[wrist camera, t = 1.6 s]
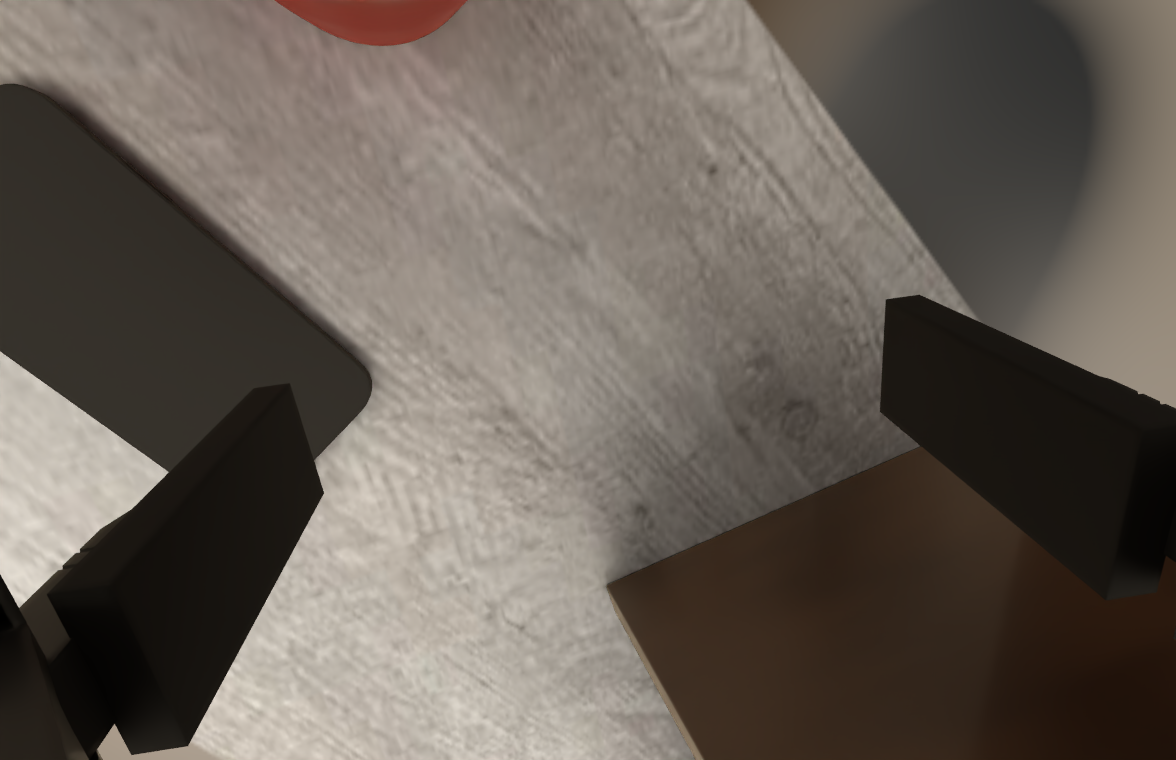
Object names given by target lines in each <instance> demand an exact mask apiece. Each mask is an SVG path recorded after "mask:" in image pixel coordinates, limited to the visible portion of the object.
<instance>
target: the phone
mask: <svg viewBox="0 0 1176 760" xmlns="http://www.w3.org/2000/svg"><path fill="white" fill-rule="evenodd" d="M0 351H1V352H2V353H3V354H5V355H6V356H8V357H9V358H10V359H12V360H13V361H15V362H16V363H17V364H19V365H20V366H22V367H23V368H24V369H26V370H27V371H29V372H30V373H31V374H33V375H34V376H35V377H37V378H38V379H40V380H41V381H42V382H44V383H45V384H47V385H48V386H49V387H51V388H52V389H54V390H55V391H56V392H58V393H59V394H61V395H62V396H63V397H65V398H66V399H68V400H69V401H70V402H72V403H73V404H75V405H76V406H77V407H79V408H80V409H82V410H83V411H84V412H86V413H87V414H89V415H90V416H91V417H93V418H94V419H96V420H97V421H98V422H100V423H101V424H103V425H104V426H105V427H107V428H108V429H110V430H111V431H112V432H114V433H115V434H117V435H118V436H119V437H121V438H122V439H124V440H125V441H126V442H128V443H129V444H131V445H132V446H133V447H135V448H136V449H138V450H139V451H140V452H142V453H143V454H145V455H146V456H147V457H149V458H150V459H152V460H153V461H154V462H156V463H157V464H159V465H160V466H161V467H163V468H164V469H166V470H167V471H168V472H170V471H171V470H172V469H173V468H174V467H175V466H176V465H177V464H178V463H179V462H180V461H181V460H182V459H183V458H184V457H185V456H186V455H187V454H188V453H189V452H190V451H191V450H192V449H193V448H194V447H195V446H196V445H197V444H198V443H199V442H200V441H201V440H202V439H203V438H204V437H205V436H206V435H207V434H208V433H209V432H210V431H211V430H212V429H213V428H214V427H215V426H216V425H217V424H218V423H219V422H220V421H221V420H222V419H223V418H224V417H225V416H226V415H227V414H228V413H229V412H230V411H231V410H232V409H233V408H234V407H235V406H236V405H237V404H238V403H239V402H240V401H241V400H242V399H243V398H244V397H245V396H246V395H247V394H248V393H249V392H250V391H251V390H252V389H253V388H258V387H265V386H272V385H279V384H286V383H290V385H291V388H292V392H293V395H294V398H295V401H296V405H297V408H298V411H299V414H300V417H301V421H302V424H303V427H304V430H305V433H306V437H307V440H308V443H309V446H310V450H311V453H312V456H313V459H314V460H315V459H316V458H317V457H318V456H319V455H320V454H321V453H322V452H323V451H324V449H325V448H326V447H327V446H328V445H329V444H330V443H331V442H332V441H333V440H334V439H335V438H336V437H337V436H338V435H339V434H340V433H341V432H342V431H343V430H344V429H345V428H346V427H347V426H348V425H349V423H350V422H351V421H352V420H353V419H354V418H355V417H356V416H357V415H358V414H359V413H360V412H361V411H362V410H363V408H364V407H365V405H366V404H367V402H368V400H369V398H370V395H371V391H372V381H371V377H370V375H369V373H368V371H367V370H366V368H365V367H364V366H363V365H362V364H361V363H360V362H359V361H358V360H357V359H356V358H355V357H354V356H352V355H351V354H350V353H349V352H348V351H347V350H346V349H344V348H343V347H342V346H341V345H340V344H339V343H337V342H336V341H335V340H334V339H333V338H332V337H330V336H329V335H328V334H327V333H326V332H325V331H323V330H322V329H321V328H320V327H319V326H318V325H316V324H315V323H314V322H313V321H312V320H311V319H309V318H308V317H307V316H306V315H305V314H304V313H302V312H301V311H300V310H299V309H298V308H297V307H295V306H294V305H293V304H292V303H291V302H290V301H288V300H287V299H286V298H285V297H284V296H283V295H281V294H280V293H279V292H278V291H277V290H276V289H274V288H273V287H272V286H271V285H270V284H269V283H267V282H266V281H265V280H264V279H263V278H261V277H260V276H259V275H258V274H257V273H256V272H254V271H253V270H252V269H251V268H250V267H249V266H247V265H246V264H245V263H244V262H243V261H242V260H240V259H239V258H238V257H237V256H236V255H235V254H233V253H232V252H231V251H230V250H229V249H228V248H226V247H225V246H224V245H223V244H222V243H221V242H219V241H218V240H217V239H216V238H215V237H214V236H212V235H211V234H210V233H209V232H208V231H207V230H205V229H204V228H203V227H202V226H201V225H200V224H198V223H197V222H196V221H195V220H194V219H193V218H191V217H190V216H189V215H188V214H187V213H186V212H184V211H183V210H182V209H181V208H180V207H179V206H177V205H176V204H175V203H174V202H173V201H172V200H171V199H170V198H169V197H168V196H166V195H165V194H164V193H163V192H162V191H161V190H159V189H158V188H157V187H156V186H155V185H154V184H152V183H151V182H150V181H149V180H148V179H147V178H145V177H144V176H143V175H142V174H141V173H140V172H138V171H137V170H136V169H135V168H134V167H133V166H131V165H130V164H129V163H128V162H126V161H125V160H124V159H123V158H121V157H120V156H119V155H118V154H117V153H116V152H114V151H113V150H112V149H111V148H110V147H109V146H107V145H106V144H105V143H104V142H103V141H102V140H100V139H99V138H98V137H97V136H96V135H95V134H93V133H92V132H91V131H90V130H89V129H88V128H86V127H85V126H84V125H83V124H82V123H80V122H79V121H78V120H77V119H76V118H75V117H73V116H72V115H71V114H70V113H69V112H68V111H66V110H65V109H64V108H63V107H62V106H60V105H59V104H58V103H57V102H55V101H54V100H52V99H51V98H49V97H48V96H46V95H44V94H42V93H40V92H38V91H35V90H33V89H31V88H28V87H25V86H22V85H18V84H3V85H0Z"/></svg>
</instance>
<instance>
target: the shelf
mask: <svg viewBox="0 0 1176 760" xmlns="http://www.w3.org/2000/svg"><path fill="white" fill-rule="evenodd" d="M607 590H608V593H609V596H610V598H611V601H612V604H613V607H614V610H615V612H616V614H617V616H618V618H619V620H620V621H621V623H622V625H623V627H624V629H625V631H626V632H627V634H628V636H629V638H630V640H631V642H632V643H633V645H634V647H635V649H636V651H637V653H638V655H639V656H640V658H641V660H642V662H643V664H644V666H645V667H646V669H647V671H648V673H649V675H650V677H651V678H652V680H653V682H654V684H655V686H656V688H657V689H658V691H659V693H660V695H661V697H662V699H663V700H664V702H665V704H666V706H667V708H668V710H669V711H670V713H671V715H672V717H673V719H674V721H675V723H676V724H677V726H678V728H679V730H680V732H681V734H682V735H683V737H684V739H685V741H686V743H687V745H688V746H689V748H690V750H691V752H692V754H693V756H694V757H695V759H696V760H1176V639H1173V635H1174V632H1175V628H1176V562H1174V561H1173V560H1171V559H1170V558H1168V557H1167V556H1166V558H1165V562H1164V566H1163V569H1162V573H1161V577H1160V581H1159V585H1158V589H1157V592H1156V593H1150V594H1144V595H1138V596H1131V597H1125V598H1119V599H1112V600H1105V599H1103V598H1102V597H1101V596H1100V595H1099V594H1097V593H1096V592H1095V591H1094V590H1093V589H1091V588H1090V587H1089V586H1088V585H1087V584H1085V583H1084V582H1083V581H1082V580H1081V579H1079V578H1078V577H1077V576H1076V575H1075V574H1074V573H1072V572H1071V571H1070V570H1069V569H1068V568H1066V567H1065V566H1064V565H1063V564H1062V563H1060V562H1059V561H1058V560H1057V559H1056V558H1054V557H1053V556H1052V555H1051V554H1050V553H1048V552H1047V551H1046V550H1045V549H1044V548H1042V547H1041V546H1040V545H1039V544H1038V543H1036V542H1035V541H1034V540H1033V539H1032V538H1030V537H1029V536H1028V535H1027V534H1026V533H1024V532H1023V531H1022V530H1021V529H1020V528H1018V527H1017V526H1016V525H1015V524H1014V523H1012V522H1011V521H1010V520H1009V519H1008V518H1006V517H1005V516H1004V515H1003V514H1002V513H1000V512H999V511H998V510H997V509H996V508H995V507H993V506H992V505H991V504H990V503H989V502H987V501H986V500H985V499H984V498H983V497H981V496H980V495H979V494H978V493H977V492H975V491H974V490H973V489H972V488H971V487H969V486H968V485H967V484H966V483H965V482H963V481H962V480H961V479H960V478H959V477H957V476H956V475H955V474H954V473H953V472H951V471H950V470H949V469H948V468H947V467H945V466H944V465H943V464H942V463H941V462H939V461H938V460H937V459H936V458H935V457H933V456H932V455H931V454H930V453H929V452H927V451H926V450H925V449H924V448H923V447H919V448H917V449H914V450H912V451H910V452H908V453H905V454H903V455H901V456H898V457H896V458H894V459H892V460H889V461H887V462H885V463H883V464H880V465H878V466H876V467H873V468H871V469H869V470H867V471H864V472H862V473H860V474H858V475H855V476H853V477H851V478H849V479H846V480H844V481H842V482H839V483H837V484H835V485H833V486H830V487H828V488H826V489H824V490H821V491H819V492H817V493H814V494H812V495H810V496H808V497H805V498H803V499H801V500H799V501H796V502H794V503H792V504H790V505H787V506H785V507H783V508H780V509H778V510H776V511H774V512H771V513H769V514H767V515H765V516H762V517H760V518H758V519H755V520H753V521H751V522H749V523H746V524H744V525H742V526H740V527H737V528H735V529H733V530H731V531H728V532H726V533H724V534H721V535H719V536H717V537H715V538H712V539H710V540H708V541H706V542H703V543H701V544H699V545H696V546H694V547H692V548H690V549H687V550H685V551H683V552H681V553H678V554H676V555H674V556H672V557H669V558H667V559H665V560H662V561H660V562H658V563H656V564H653V565H651V566H649V567H647V568H644V569H642V570H640V571H637V572H635V573H633V574H631V575H628V576H626V577H624V578H622V579H619V580H617V581H615V582H612V583H610V584H608V585H607Z"/></svg>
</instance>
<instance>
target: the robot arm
mask: <svg viewBox="0 0 1176 760" xmlns="http://www.w3.org/2000/svg"><path fill="white" fill-rule="evenodd" d="M880 412H881V413H882V414H883V415H884V416H886V417H887V418H888V419H889V420H890V421H892V422H893V423H894V424H895V425H896V426H898V427H899V428H900V429H901V430H902V431H904V432H905V433H906V434H907V435H908V436H910V437H911V438H912V439H913V440H914V441H916V442H917V443H918V444H919V445H920V446H921V447H923V448H924V449H925V450H926V451H927V452H929V453H930V454H931V455H932V456H933V457H935V458H936V459H937V460H938V461H939V462H941V463H942V464H943V465H944V466H945V467H947V468H948V469H949V470H950V471H951V472H953V473H954V474H955V475H956V476H957V477H959V478H960V479H961V480H962V481H963V482H965V483H966V484H967V485H968V486H969V487H971V488H972V489H973V490H974V491H975V492H977V493H978V494H979V495H980V496H981V497H983V498H984V499H985V500H986V501H987V502H989V503H990V504H991V505H992V506H993V507H995V508H996V509H997V510H998V511H999V512H1000V513H1002V514H1003V515H1004V516H1005V517H1006V518H1008V519H1009V520H1010V521H1011V522H1012V523H1014V524H1015V525H1016V526H1017V527H1018V528H1020V529H1021V530H1022V531H1023V532H1024V533H1026V534H1027V535H1028V536H1029V537H1030V538H1032V539H1033V540H1034V541H1035V542H1036V543H1038V544H1039V545H1040V546H1041V547H1042V548H1044V549H1045V550H1046V551H1047V552H1048V553H1050V554H1051V555H1052V556H1053V557H1054V558H1056V559H1057V560H1058V561H1059V562H1060V563H1062V564H1063V565H1064V566H1065V567H1066V568H1068V569H1069V570H1070V571H1071V572H1072V573H1074V574H1075V575H1076V576H1077V577H1078V578H1079V579H1081V580H1082V581H1083V582H1084V583H1085V584H1087V585H1088V586H1089V587H1090V588H1091V589H1093V590H1094V591H1095V592H1096V593H1097V594H1099V595H1100V596H1101V597H1102V598H1103V599H1105V600H1112V599H1119V598H1125V597H1131V596H1138V595H1144V594H1150V593H1156V592H1157V589H1158V585H1159V581H1160V577H1161V573H1162V569H1163V566H1164V562H1165V558H1166V556H1167V557H1168V558H1170V559H1171V560H1173V561H1174V562H1176V408H1173V407H1171V406H1169V405H1167V404H1162V405H1161V404H1160V401H1158V400H1156V399H1153V398H1151V397H1149V396H1147V395H1145V394H1138V392H1137V391H1135V390H1133V389H1131V388H1129V387H1127V386H1125V385H1122V384H1120V383H1118V382H1116V381H1113V380H1111V379H1108V378H1104V377H1100V376H1097V375H1095V374H1093V373H1091V372H1089V371H1086V370H1084V369H1082V368H1080V367H1078V366H1075V365H1073V364H1071V363H1069V362H1066V361H1064V360H1062V359H1060V358H1058V357H1055V356H1053V355H1051V354H1049V353H1047V352H1044V351H1042V350H1040V349H1038V348H1036V347H1033V346H1031V345H1029V344H1027V343H1024V342H1022V341H1020V340H1018V339H1016V338H1014V337H1011V336H1009V335H1007V334H1005V333H1003V332H1000V331H998V330H996V329H994V328H991V327H989V326H987V325H985V324H983V323H981V322H978V321H976V320H974V319H972V318H970V317H967V316H965V315H963V314H961V313H958V312H956V311H954V310H952V309H950V308H947V307H945V306H943V305H941V304H939V303H936V302H934V301H932V300H930V299H928V298H925V297H923V296H921V295H914V296H907V297H900V298H893V299H886V306H885V325H884V344H883V363H882V382H881V402H880ZM323 494H324V491H323V488H322V485H321V482H320V479H319V475H318V472H317V469H316V466H315V462H314V459H313V456H312V453H311V450H310V446H309V443H308V440H307V437H306V433H305V430H304V427H303V424H302V421H301V417H300V414H299V411H298V408H297V405H296V401H295V398H294V395H293V392H292V388H291V385H290V383H286V384H279V385H272V386H265V387H258V388H253V389H252V390H251V391H250V392H249V393H248V394H247V395H246V396H245V397H244V398H243V399H242V400H241V401H240V402H239V403H238V404H237V405H236V406H235V407H234V408H233V409H232V410H231V411H230V412H229V413H228V414H227V415H226V416H225V417H224V418H223V419H222V420H221V421H220V422H219V423H218V424H217V425H216V426H215V427H214V428H213V429H212V430H211V431H210V432H209V433H208V434H207V435H206V436H205V437H204V438H203V439H202V440H201V441H200V442H199V443H198V444H197V445H196V446H195V447H194V448H193V449H192V450H191V451H190V452H189V453H188V454H187V455H186V456H185V457H184V458H183V459H182V460H181V461H180V462H179V463H178V464H177V465H176V466H175V467H174V468H173V469H172V470H171V471H170V472H169V473H168V474H167V475H166V476H165V477H164V478H163V479H162V480H161V481H160V482H159V483H158V484H157V485H156V486H155V487H154V488H153V489H152V490H151V491H150V492H149V493H148V494H147V495H146V496H145V497H144V498H143V499H142V500H141V501H140V502H139V503H138V504H137V505H136V506H135V507H134V508H133V509H132V510H130V511H128V512H127V513H125V514H124V515H122V516H121V517H119V518H117V519H116V520H114V521H113V522H111V523H110V524H108V525H106V526H105V527H103V528H102V529H100V530H99V531H98V532H97V533H96V534H95V535H94V536H93V537H92V538H91V539H90V540H89V541H88V542H87V543H86V544H85V545H84V546H83V547H82V548H81V549H80V553H76V554H74V555H73V556H72V557H71V558H70V559H69V560H68V561H67V562H66V563H65V564H64V565H63V570H58V571H57V572H56V573H55V574H54V575H53V576H52V577H51V578H50V579H49V580H48V581H47V582H46V583H45V584H43V585H42V586H41V587H40V588H39V589H38V590H37V591H36V592H35V593H34V594H33V595H32V596H31V597H30V598H29V599H28V600H27V601H26V602H25V603H24V604H23V605H22V606H21V607H20V608H19V607H18V606H17V604H16V602H15V600H14V598H13V597H12V595H11V593H10V591H9V589H8V588H7V586H6V584H5V582H4V580H3V579H2V577H1V575H0V760H103V759H102V758H101V756H100V754H99V752H98V750H97V748H98V747H99V746H100V744H101V743H102V741H103V740H104V738H105V737H106V735H107V734H108V732H109V731H110V729H111V728H112V726H113V725H114V724H115V725H116V727H117V729H118V731H119V732H120V734H121V736H122V738H123V740H124V742H125V744H126V745H127V747H128V749H129V751H130V753H131V755H134V754H140V753H147V752H153V751H160V750H165V749H171V748H179V747H185V746H188V745H189V743H190V741H191V739H192V737H193V736H194V734H195V732H196V730H197V728H198V726H199V724H200V723H201V721H202V719H203V717H204V715H205V713H206V711H207V710H208V708H209V706H210V704H211V702H212V700H213V698H214V697H215V695H216V693H217V691H218V689H219V687H220V685H221V684H222V682H223V680H224V678H225V676H226V674H227V672H228V671H229V669H230V667H231V665H232V663H233V661H234V659H235V658H236V656H237V654H238V652H239V650H240V648H241V646H242V645H243V643H244V641H245V639H246V637H247V635H248V633H249V632H250V630H251V628H252V626H253V624H254V622H255V620H256V619H257V617H258V615H259V613H260V611H261V609H262V607H263V606H264V604H265V602H266V600H267V598H268V596H269V594H270V593H271V591H272V589H273V587H274V585H275V583H276V581H277V580H278V578H279V576H280V574H281V572H282V570H283V568H284V567H285V565H286V563H287V561H288V559H289V557H290V555H291V554H292V552H293V550H294V548H295V546H296V544H297V542H298V541H299V539H300V537H301V535H302V533H303V531H304V529H305V527H306V526H307V524H308V522H309V520H310V518H311V516H312V514H313V513H314V511H315V509H316V507H317V505H318V503H319V501H320V500H321V498H322V496H323ZM1173 639H1176V628H1175V632H1174V635H1173Z"/></svg>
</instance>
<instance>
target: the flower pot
mask: <svg viewBox="0 0 1176 760" xmlns="http://www.w3.org/2000/svg"><path fill="white" fill-rule="evenodd" d="M275 1H276V2H278V3H279V4H281V5H282V6H284V7H285V8H287V9H288V10H290V11H291V12H293V13H295V14H296V15H298V16H300V17H301V18H303V19H304V20H306V21H308V22H310V23H311V24H313V25H315V26H316V27H318V28H320V29H321V30H323V31H326V32H328V33H330V34H332V35H334V36H336V37H339V38H342V39H345V40H348V41H351V42H355V43H359V44H366V45H375V46H388V45H398V44H403V43H408V42H411V41H414V40H417V39H419V38H421V37H424V36H426V35H428V34H430V33H431V32H433V31H435V30H436V29H438V28H439V27H440V26H442V25H443V24H444V23H445V22H447V21H448V20H449V19H450V18H451V17H452V16H453V15H454V14H455V13H456V12H457V11H458V10H459V9H460V8H461V7H462V6H463V5H464V3H465V2H466V1H467V0H275Z"/></svg>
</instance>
